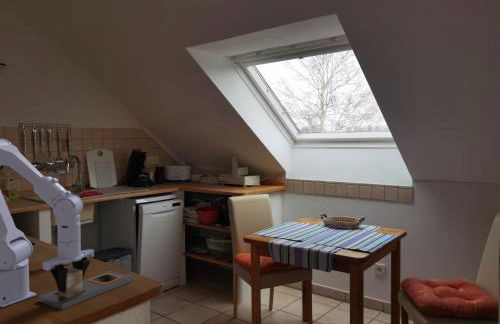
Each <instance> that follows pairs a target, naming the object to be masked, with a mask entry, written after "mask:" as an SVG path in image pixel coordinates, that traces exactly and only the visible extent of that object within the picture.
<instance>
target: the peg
mask: <svg viewBox="0 0 500 324" xmlns="http://www.w3.org/2000/svg"><path fill="white" fill-rule="evenodd" d="M67 269H68V272H67V277H66V291H65V292H64V293H63V292H60V291H59V290H58V295H59V296H62V297H65V298H70V297H73V296H75V295H78V294H80V293H83V280H84V278H83V279H82V270H79V269H75V268H73V267H69V268H67Z"/></svg>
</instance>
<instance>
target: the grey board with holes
mask: <svg viewBox="0 0 500 324" xmlns="http://www.w3.org/2000/svg"><path fill="white" fill-rule="evenodd" d="M105 280H108V281H107V282H105V283H103V281H105ZM132 282H133V275H128V274H126V273H125V274H124V273H121V272H117V271H113V270H107V271H106V272H102V273H100V274H97V275H94V276H92V277H89V278H86V279H83V293H80V294H78V295H75V296H73V297H70V298H65V297H62V296H59V295H58V288H57V289H55V290H52V291H48V292H47V293H43V294H41V295H38V301H39V302H40V303H43V304H45V305H48V306H51V307H54V308H56V309H60V310H62V311H63V310H66V309H68V308H70V307H73V306H75V305H77V304H81V303H82V302H85V301H87V300H89V299H92V298H94V297H97V296H99V295H102V294H104V293H107V292H110V291H112V290H115V289H116V288H118V287H121V286H124V285H126V284H128V283H132Z"/></svg>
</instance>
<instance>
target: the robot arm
mask: <svg viewBox="0 0 500 324" xmlns="http://www.w3.org/2000/svg"><path fill="white" fill-rule="evenodd" d="M2 166H7V167H10V168H11V169H12V170H14V172H16V173H18V174H19V175H20V176H22V177H23V178H24V179H25V180H27V181H28V182H29V183H31V184H32V185H33V192H34V193H35V194H36V195H37V196H38V197H39V198H40V199H42V200H43V202H45V203H46V204H47V205H49V206H50V207H51V208H52V212H53V215H54V216H55V218H56V219H57V221H56V222H58V224H57V256H55V257H52V258H51V259H48V260H45V261H43V262H42V270H44V271H47V272H48V271H49V272H50V273H51V275H52V276H53V279H54V281H55V283H56V286H57V289H58V290H59V291H60V292H63V293H64V292H65V291H66V277H67V272H68V269H69V268H67V267H65V266H66V265H65V264H68V263H70V264H71V265H72V268H75V269H79V270H82V279H83V280H84V277H85V274H86V271H87V270H88V268H89V267H90V266H89V265H90V264H91V260H90V259H88V258H94V257H95V250H94V249H91V248H88V249H84V250H81V249H82V248H81V246H82V245H81V244H82V241H81V237H82V236H81V234H82V233H81V212H82V211H83V208H84V202H83V200H82V198H80V195H77V194H72V192H71V191H70V190H67V189H66V188H65V187H64V186H62V185H61V184H60V183H59V179H58V178H56V177H52V176H46V175H43V174H42V173H41V172H40V171H39V170H38V169H37V168H36V167H35V166H34V165H33V164H32V163H31V162H30V161H29V160H28V159H27V158H26V157H25V156H24V155H23V154H22V153H21V152H20V151H19V148H18V147H17V146H15V145H14V144H12V143H11V142H10V141H9V140H8V139H5V138H0V167H2ZM6 202H7V201H6V200H5V198H4V195H3V192H2V191H1V189H0V308H6V307H7V306H10V305H13V304H16V303H19V302H22V301H25V300H27V299H30V298H33V297H35V296H37V293H36V292H33V291H31V290H30V272H29V271H30V269H29V267H30V266H29V260H30V259H29V258H30V257H31V256H32V254H33V252H34V247H33V244H32V242H31V241H30V240H29V239H27V237H26V236H25V233H24V232H23V231H21V230H20V229H18V228H17V227H16V225H15V222H14V219H13V217H12V215H11V211H10V210H9V207H8V204H7V203H6ZM68 265H69V264H68Z"/></svg>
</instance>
